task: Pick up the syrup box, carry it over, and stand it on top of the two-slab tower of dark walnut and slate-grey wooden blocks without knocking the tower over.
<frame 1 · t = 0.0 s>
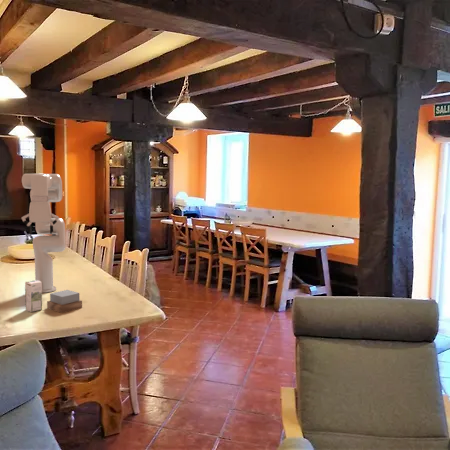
hand: (40, 233, 234), 37 cm above the table, tool pointing down, fingers open, 9 cm apart
walnut base block: (64, 308, 237), on the table, touching slate top block
slate top block: (65, 301, 236), point 4 cm above the table, touching walnut base block
syrup box: (33, 310, 232), on the table
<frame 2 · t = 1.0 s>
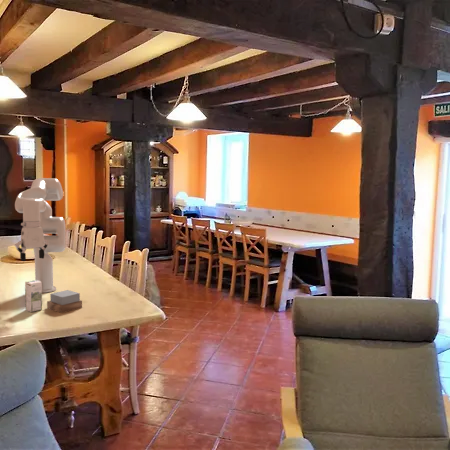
hand: (32, 259, 229), 25 cm above the table, tool pointing down, fingers open, 9 cm apart
nothing on the table moved.
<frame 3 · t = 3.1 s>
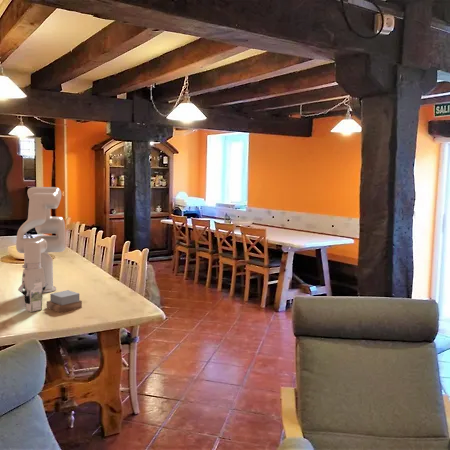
hand: (33, 301, 231), 4 cm above the table, tool pointing down, fingers closed on syrup box, 5 cm apart
syrup box: (33, 310, 232), on the table, touching gripper
everything else where it was.
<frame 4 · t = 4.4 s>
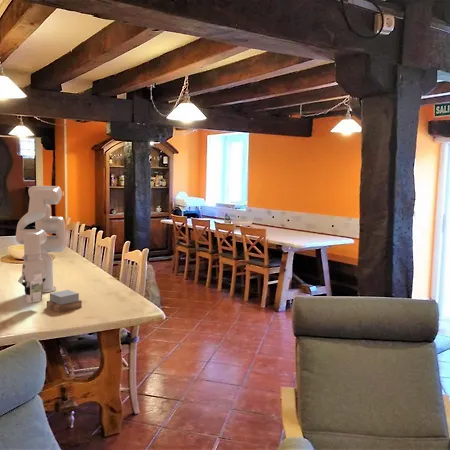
hand: (33, 292, 232), 9 cm above the table, tool pointing down, fingers closed on syrup box, 5 cm apart
syrup box: (34, 301, 232), point 4 cm above the table, touching gripper
everything else where it was.
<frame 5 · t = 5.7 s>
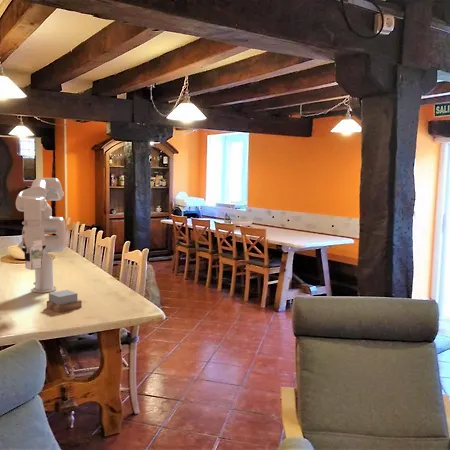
hand: (33, 259, 229), 25 cm above the table, tool pointing down, fingers closed on syrup box, 5 cm apart
syrup box: (34, 268, 230), point 21 cm above the table, touching gripper
everything else where it was.
when the fingers open (13 cm above the table, at t = 8.8 s): syrup box stays where it is, resting on slate top block.
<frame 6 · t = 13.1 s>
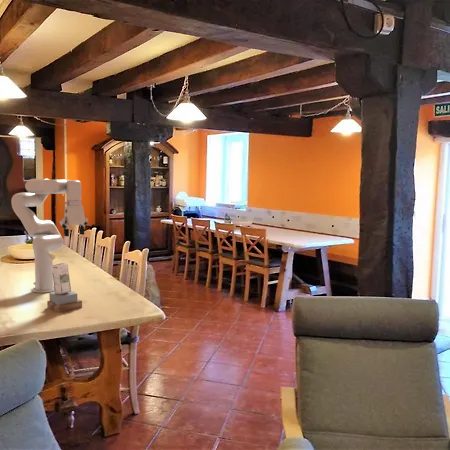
hand: (74, 235, 252), 34 cm above the table, tool pointing down, fingers open, 9 cm apart
walnut base block: (64, 308, 237), on the table
slate top block: (63, 301, 236), point 3 cm above the table, touching syrup box
syrup box: (63, 292, 236), point 8 cm above the table, touching slate top block
at the end: syrup box 0.1 cm off-centre on the slate top block, point 4.4 cm above the slate top block's base; syrup box tilted 10°; slate top block 0.7 cm off-centre on the walnut base block, point 4.0 cm above the walnut base block's base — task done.
